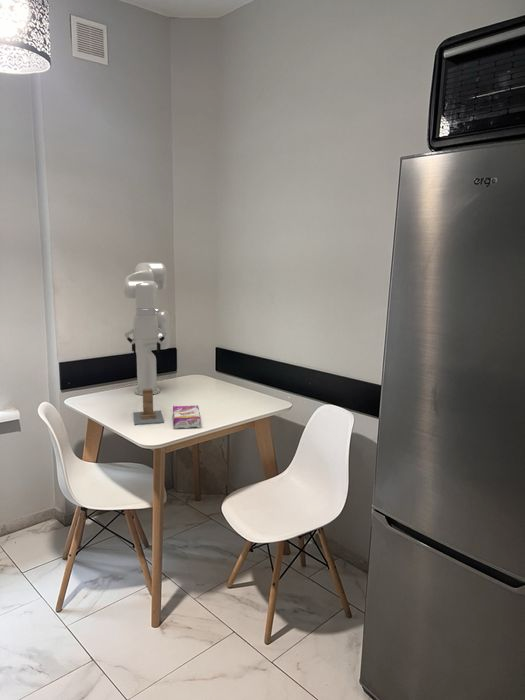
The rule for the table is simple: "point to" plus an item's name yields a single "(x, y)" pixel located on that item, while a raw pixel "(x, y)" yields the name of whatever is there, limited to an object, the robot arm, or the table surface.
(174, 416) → the candy bar box
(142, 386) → the robot arm
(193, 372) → the table surface
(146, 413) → the stepped wooden block
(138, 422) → the mat
